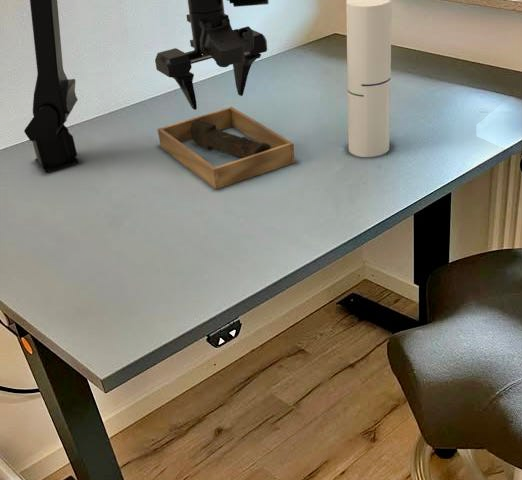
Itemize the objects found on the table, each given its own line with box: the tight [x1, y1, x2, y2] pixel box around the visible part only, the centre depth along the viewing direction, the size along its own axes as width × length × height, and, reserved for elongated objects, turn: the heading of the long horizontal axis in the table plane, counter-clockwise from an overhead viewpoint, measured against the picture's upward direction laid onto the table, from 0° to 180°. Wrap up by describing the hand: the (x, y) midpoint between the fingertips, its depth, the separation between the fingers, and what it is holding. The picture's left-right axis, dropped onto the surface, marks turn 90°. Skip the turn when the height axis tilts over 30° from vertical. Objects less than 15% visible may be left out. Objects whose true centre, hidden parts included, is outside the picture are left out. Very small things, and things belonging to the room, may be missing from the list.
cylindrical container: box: [345, 0, 393, 158], centre depth 133 cm, size 7×7×25 cm
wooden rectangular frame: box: [157, 106, 296, 190], centre depth 143 cm, size 16×22×4 cm
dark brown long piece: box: [190, 120, 270, 159], centre depth 143 cm, size 19×4×5 cm, turn 43°
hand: (217, 102), depth 139 cm, fingers open, 9 cm apart
